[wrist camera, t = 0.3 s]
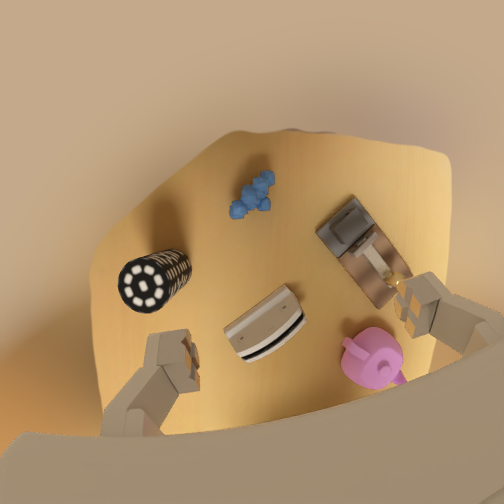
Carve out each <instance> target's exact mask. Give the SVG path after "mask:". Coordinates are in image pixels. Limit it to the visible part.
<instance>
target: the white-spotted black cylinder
mask: <svg viewBox="0 0 504 504" xmlns="http://www.w3.org/2000/svg"><path fill="white" fill-rule="evenodd" d="M191 272H192V267H191V263H190V261H189V259H188V257H187V256H186V255H185V254H184V253H183V252H181V251H179V250H175V249H168V250H165V251H161V252H157V253H154V254H150V255H147V256H144V257H140V258H137V259H133V260H131V261H130V262H128V263H127V264H126V265H125V266H124V267H123V268H122V270H121V272H120V274H119V278H118V290H119V293H120V296H121V298H122V300H123V301H124V302H125V304H126V305H127V306H128V307H129V308H131V309H132V310H134V311H136V312H139V313H153V312H156V311H158V310H159V309H161V308H162V307H163V306H164V305H165V304H166V303H167V302H168V301H169V300H170V299H171V298H172V297H173V296H174V295H175V294H176V293H177V292H178V291H179V290H180V289H181V288H182V287H183V286H184V285H185V284H186V283H187V282H188V281H189V279H190V277H191Z"/></svg>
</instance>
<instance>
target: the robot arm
mask: <svg viewBox="0 0 504 504" xmlns="http://www.w3.org/2000/svg"><path fill="white" fill-rule="evenodd" d="M397 290H398V292H399V293H398V295H397V296H396V297H395V303H394V305H395V311H396V314H397V316H398V317H399V319H400V320H401V321H403V322H406V324H405V328H406V330H407V332H408V333H409V335H410V336H411V338H412V339H413V338H416V337H419V336H422V335H425V334H428V333H430V335H432V336H433V337H435V338H437V339H438V340H440V341H442V342H443V343H445V344H446V345H448V346H449V347H451V348H452V349H454V350H456V351H457V352H459V353H460V354H462V357H461V359H460V360H458V361H456V362H454V363H452V364H449V365H447V366H445V367H443V368H440V369H438V370H436V371H433V372H431V373H429V374H426V375H424V376H421V377H419V378H416V379H414V380H411V381H409V382H406V383H403V384H401V385H398V386H395V387H393V388H390V389H387V390H384V391H381V392H378V393H375V394H372V395H369V396H366V397H363V398H360V399H357V400H354V401H350V402H347V403H344V404H340V405H337V406H333V407H329V408H326V409H322V410H318V411H314V412H310V413H306V414H302V415H298V416H293V417H289V418H284V419H279V420H275V421H269V422H264V423H259V424H253V425H247V426H241V427H235V428H228V429H221V430H214V431H205V432H196V433H186V434H175V435H164V434H163V433H162V432H161V430H160V429H159V428H160V426H161V425H162V423H163V421H164V420H165V418H166V416H167V415H168V413H169V411H170V409H171V408H172V406H173V404H174V403H175V401H176V399H177V398H178V396H179V395H178V394H182V393H189V392H195V391H200V376H199V374H198V372H197V370H198V368H199V367H200V365H199V356H198V351H197V348H196V345H195V343H193V342H191V334H190V332H189V330H188V329H181V330H174V331H167V332H162V333H154V334H149V336H148V337H147V344H146V350H145V357H144V365H143V368H139V369H138V370H137V372H136V373H135V374H134V375H133V376H132V378H131V379H130V380H129V381H128V382H127V383H126V385H125V386H124V387H123V388H122V389H121V390H120V392H119V393H118V394H117V395H116V396H115V398H114V399H113V400H112V401H111V402H110V403H109V405H108V406H107V407H106V408H105V409H104V415H103V421H102V427H101V434H100V437H90V436H89V437H88V436H69V435H56V434H45V433H36V432H24V433H21V434H20V435H19V436H18V437H17V438H16V439H15V440H14V441H13V442H12V443H11V444H10V445H9V446H8V447H7V449H6V450H5V451H4V452H3V454H2V455H1V458H0V504H504V317H503V316H502V315H501V314H500V313H499V312H497V311H494V310H492V309H490V308H488V307H485V306H483V305H481V304H478V303H476V302H473V301H471V300H469V299H466V298H464V297H461V296H459V295H456V294H454V295H452V294H451V293H450V292H449V290H448V289H447V288H446V287H445V286H444V285H443V284H442V282H441V281H440V280H439V279H438V278H437V277H436V276H435V275H434V273H432V272H427V273H424V274H420V275H417V276H414V277H411V278H407V279H404V280H401V281H399V282H398V284H397Z"/></svg>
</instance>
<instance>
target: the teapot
mask: <svg viewBox="0 0 504 504" xmlns="http://www.w3.org/2000/svg"><path fill="white" fill-rule="evenodd" d="M342 345H343V346H344V347H345V348H346V350H345V352H344V354H343V356H342V359H341V368H342V371H343V372H344V373H345V375H346V376H347V377H349V378H350V379H351V380H352V381H354V382H355V383H357V384H358V385H360V386H363V387H365V388H368V389H382V388H384V387H385V386H387V385H388V384H389V383H390V382H393V383H395V384H397V385H401V384H403V383H406V382H407V381H406V379H405V377H404V375H403V373H402V372H401V370H400V369H401V366H402V363H403V353H402V349H401V347H400V345H399V343H398V342H397V341H396V340H395V338H394V337H393V336H392V335H390V334H389V333H388V332H386V331H385V330H383V329H381V328H379V327H369V328H367V329H365V330H363V331H362V332H360V333H359V334H358V335H357V336H356V337H355V338H354V339H351V338H349V337H346V338H345V340H344V341H343V343H342Z"/></svg>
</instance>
